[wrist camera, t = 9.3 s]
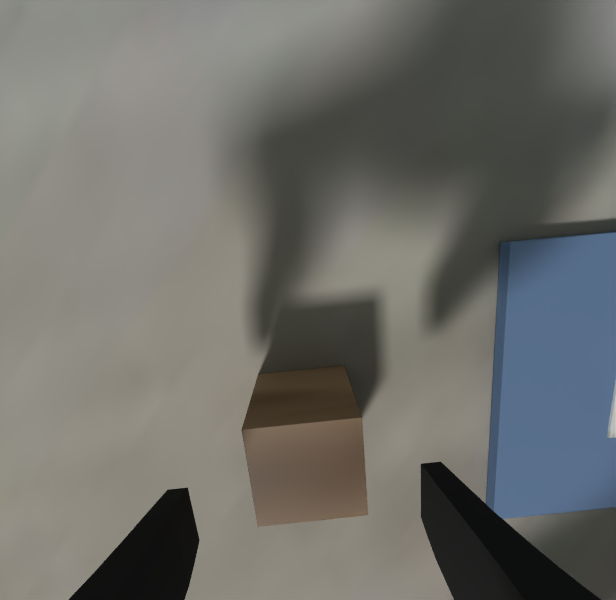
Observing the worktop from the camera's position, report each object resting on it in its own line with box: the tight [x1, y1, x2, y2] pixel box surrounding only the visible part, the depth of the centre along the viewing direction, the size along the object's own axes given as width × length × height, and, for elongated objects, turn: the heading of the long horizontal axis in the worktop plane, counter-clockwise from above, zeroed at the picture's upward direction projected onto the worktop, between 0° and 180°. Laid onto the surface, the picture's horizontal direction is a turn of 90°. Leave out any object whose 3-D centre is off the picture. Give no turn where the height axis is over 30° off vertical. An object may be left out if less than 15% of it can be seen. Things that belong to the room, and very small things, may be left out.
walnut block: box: [242, 366, 368, 527], centre depth 12 cm, size 4×4×4 cm
